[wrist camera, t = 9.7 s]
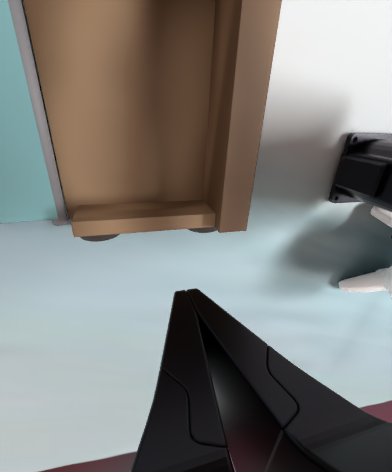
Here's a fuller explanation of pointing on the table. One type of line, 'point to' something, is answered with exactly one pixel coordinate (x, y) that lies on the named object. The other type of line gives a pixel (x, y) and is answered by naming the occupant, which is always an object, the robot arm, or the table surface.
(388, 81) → the table surface
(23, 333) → the table surface
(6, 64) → the panel
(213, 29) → the truck bed
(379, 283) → the cherub figurine
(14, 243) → the table surface
